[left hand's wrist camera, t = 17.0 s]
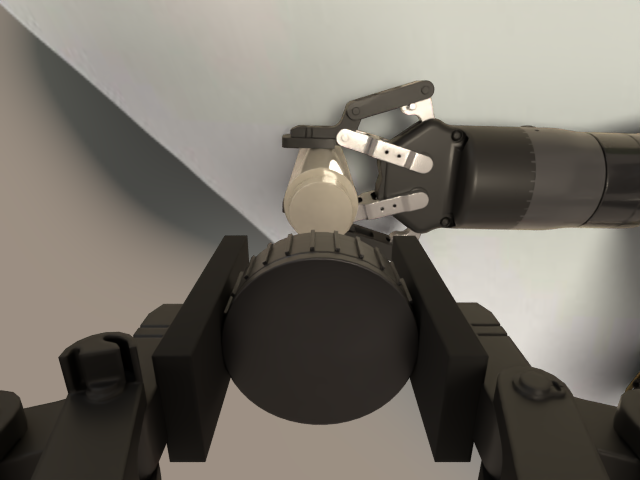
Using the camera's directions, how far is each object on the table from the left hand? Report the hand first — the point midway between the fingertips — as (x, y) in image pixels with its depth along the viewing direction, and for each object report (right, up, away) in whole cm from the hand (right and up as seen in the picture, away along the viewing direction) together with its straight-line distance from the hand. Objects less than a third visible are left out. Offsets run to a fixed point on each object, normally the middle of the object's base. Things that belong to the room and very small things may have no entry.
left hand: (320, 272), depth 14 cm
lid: (0, -1, -4) cm, 4 cm away
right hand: (-3, +6, +16) cm, 18 cm away
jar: (0, +8, +22) cm, 24 cm away
